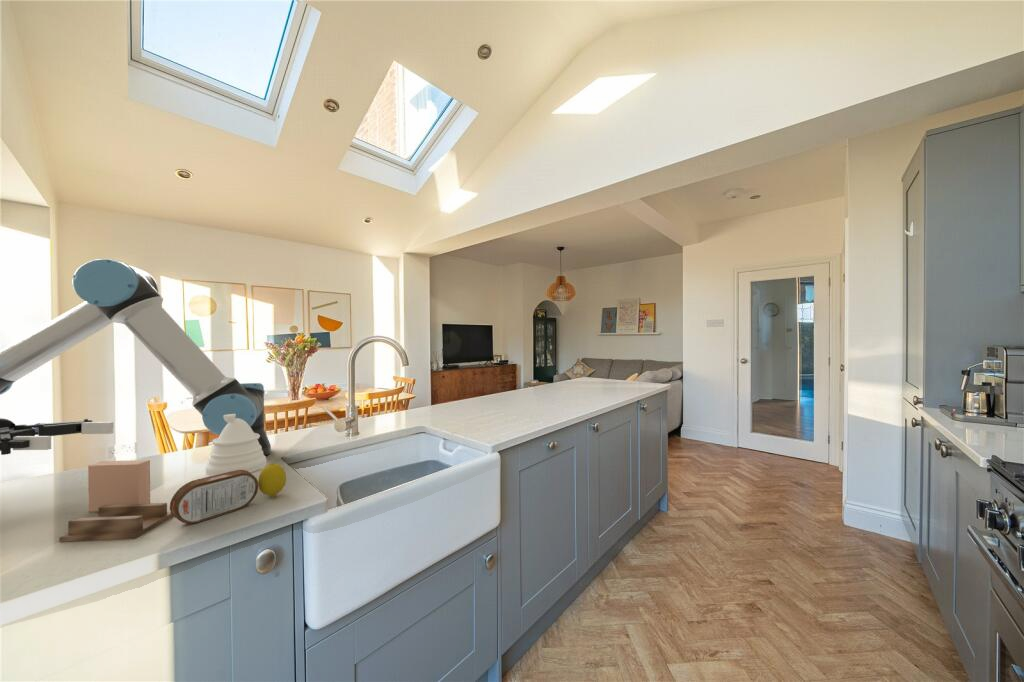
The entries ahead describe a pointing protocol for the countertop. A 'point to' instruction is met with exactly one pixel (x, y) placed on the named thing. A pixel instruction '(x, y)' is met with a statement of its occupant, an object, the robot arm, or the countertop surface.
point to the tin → (213, 496)
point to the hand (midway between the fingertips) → (83, 434)
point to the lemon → (272, 479)
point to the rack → (117, 522)
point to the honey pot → (236, 449)
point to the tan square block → (118, 483)
